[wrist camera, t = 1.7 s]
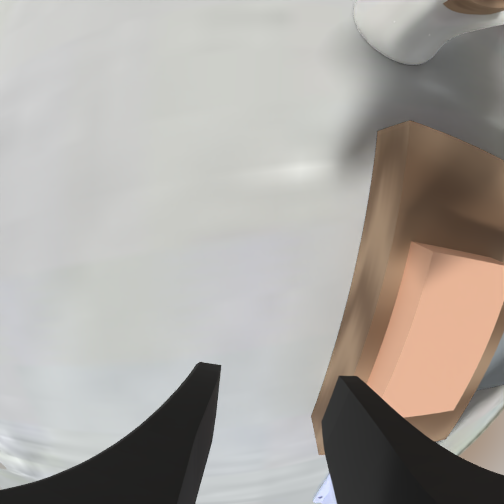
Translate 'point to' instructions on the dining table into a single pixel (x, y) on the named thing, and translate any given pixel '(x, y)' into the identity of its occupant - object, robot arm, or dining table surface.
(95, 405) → the dining table surface
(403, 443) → the robot arm
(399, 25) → the beer glass
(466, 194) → the brown wooden block
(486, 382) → the mat
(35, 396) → the dining table surface
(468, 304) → the tile
